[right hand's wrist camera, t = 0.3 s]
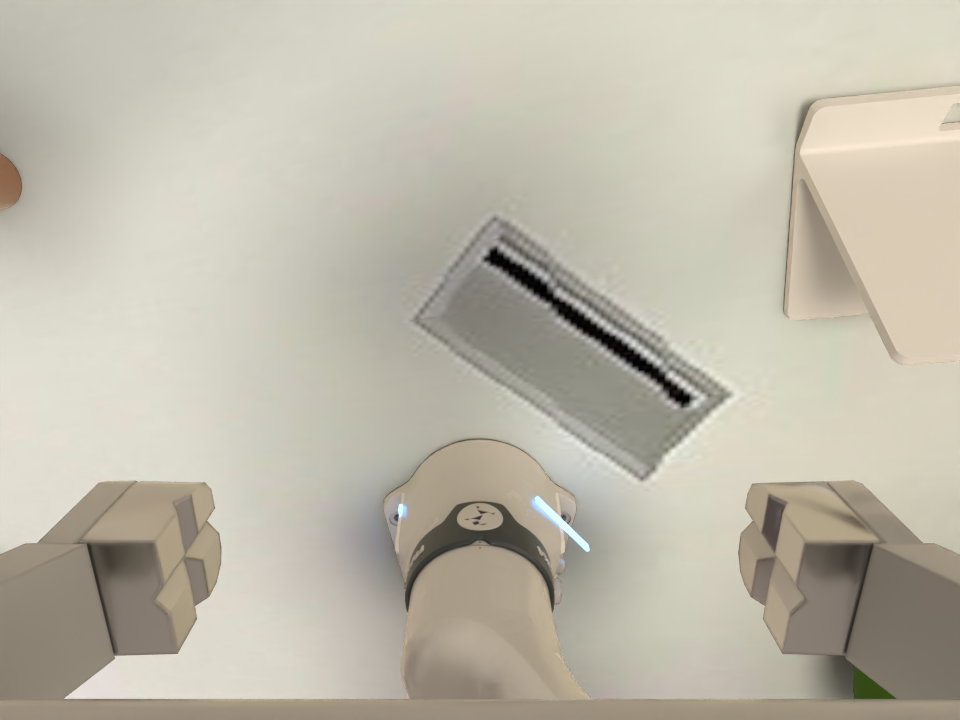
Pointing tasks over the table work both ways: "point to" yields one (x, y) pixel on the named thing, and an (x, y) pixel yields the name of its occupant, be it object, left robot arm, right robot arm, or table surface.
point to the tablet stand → (880, 219)
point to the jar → (8, 183)
